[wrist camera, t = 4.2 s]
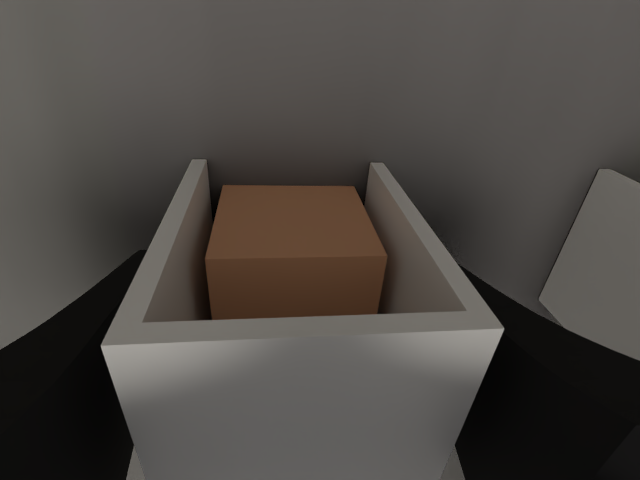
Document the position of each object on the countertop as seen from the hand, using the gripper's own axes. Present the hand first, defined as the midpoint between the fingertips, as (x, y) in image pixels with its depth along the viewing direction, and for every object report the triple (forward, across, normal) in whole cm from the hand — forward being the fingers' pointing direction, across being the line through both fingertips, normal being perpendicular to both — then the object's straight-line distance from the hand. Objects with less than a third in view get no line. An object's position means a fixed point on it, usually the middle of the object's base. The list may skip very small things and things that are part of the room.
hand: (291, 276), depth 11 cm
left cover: (+2, 0, 0) cm, 2 cm away
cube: (+2, 0, 0) cm, 2 cm away
